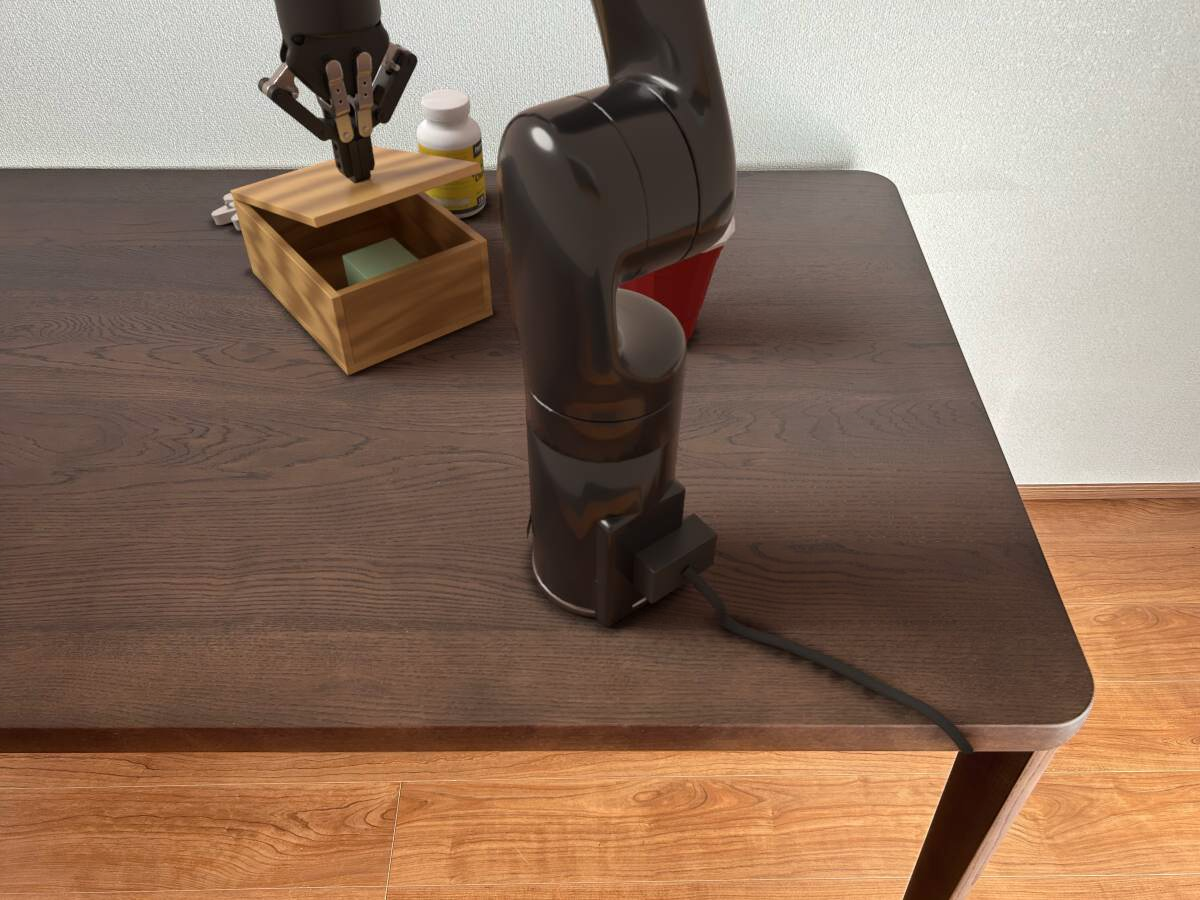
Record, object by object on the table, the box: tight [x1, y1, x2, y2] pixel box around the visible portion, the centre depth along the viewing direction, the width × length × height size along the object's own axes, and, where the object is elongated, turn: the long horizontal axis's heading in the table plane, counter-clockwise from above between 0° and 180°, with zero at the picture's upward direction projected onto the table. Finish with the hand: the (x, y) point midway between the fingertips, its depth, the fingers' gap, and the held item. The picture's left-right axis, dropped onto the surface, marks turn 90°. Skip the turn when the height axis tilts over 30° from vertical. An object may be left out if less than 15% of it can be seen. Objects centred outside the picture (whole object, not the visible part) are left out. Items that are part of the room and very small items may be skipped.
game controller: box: [211, 192, 242, 231], centre depth 101 cm, size 6×12×3 cm, turn 134°
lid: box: [230, 146, 481, 228], centre depth 83 cm, size 20×15×1 cm
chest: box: [233, 192, 494, 376], centre depth 88 cm, size 20×15×8 cm
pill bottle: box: [416, 89, 487, 219], centre depth 99 cm, size 6×6×12 cm
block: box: [343, 238, 418, 287], centre depth 86 cm, size 5×5×5 cm
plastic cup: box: [618, 216, 736, 343], centre depth 83 cm, size 11×11×12 cm
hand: (357, 176), depth 81 cm, fingers closed
